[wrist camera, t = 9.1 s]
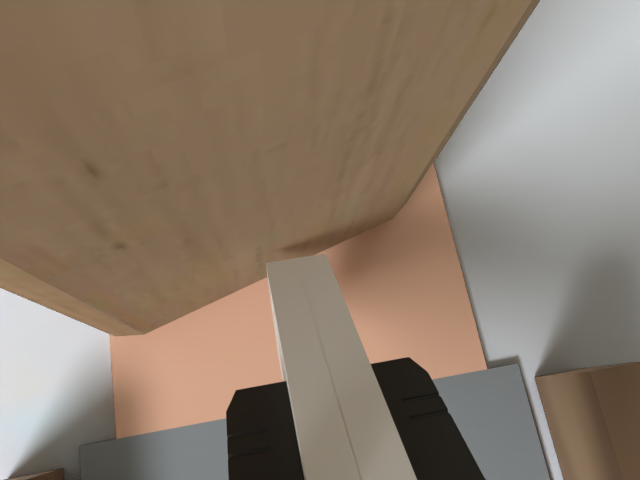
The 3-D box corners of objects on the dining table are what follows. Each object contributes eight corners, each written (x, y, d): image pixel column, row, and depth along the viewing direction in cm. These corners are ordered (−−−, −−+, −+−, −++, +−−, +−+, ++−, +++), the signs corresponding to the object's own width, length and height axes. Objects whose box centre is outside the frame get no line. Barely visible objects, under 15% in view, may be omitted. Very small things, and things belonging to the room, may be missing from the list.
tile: (400, 43, 20) (401, 39, 19) (485, 369, 16) (487, 368, 16) (93, 74, 18) (92, 70, 18) (118, 438, 15) (116, 438, 15)
